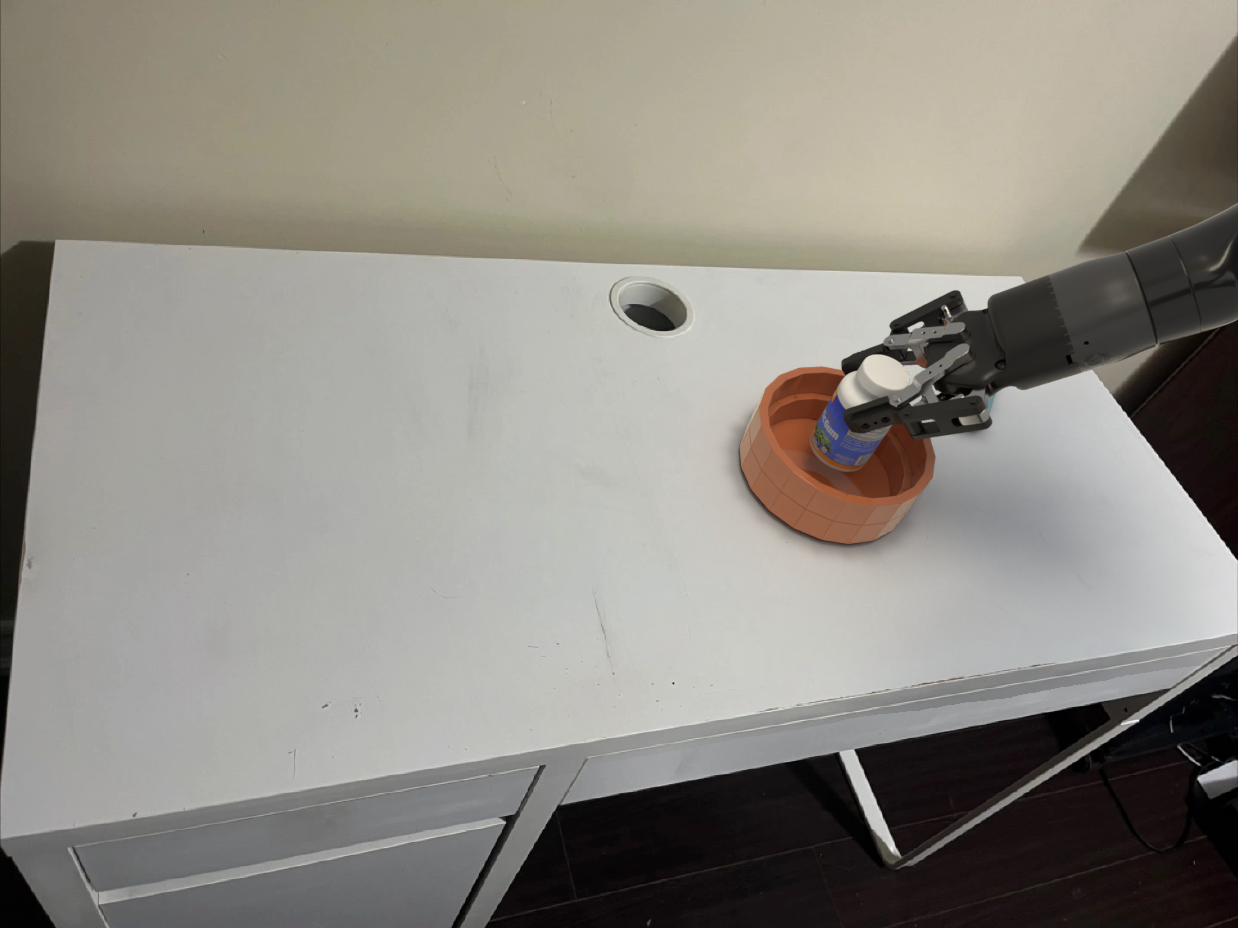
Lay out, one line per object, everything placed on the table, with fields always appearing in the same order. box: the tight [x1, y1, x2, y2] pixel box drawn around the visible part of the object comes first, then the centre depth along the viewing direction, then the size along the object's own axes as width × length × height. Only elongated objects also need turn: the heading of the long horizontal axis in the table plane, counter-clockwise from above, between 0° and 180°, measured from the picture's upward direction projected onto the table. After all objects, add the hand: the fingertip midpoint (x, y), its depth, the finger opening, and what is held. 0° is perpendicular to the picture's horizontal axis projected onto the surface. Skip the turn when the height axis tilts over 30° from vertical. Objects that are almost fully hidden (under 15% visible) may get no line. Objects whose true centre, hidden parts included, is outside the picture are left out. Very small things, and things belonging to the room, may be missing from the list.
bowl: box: [739, 365, 936, 545], centre depth 75 cm, size 16×16×6 cm
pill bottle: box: [810, 355, 911, 472], centre depth 71 cm, size 5×5×10 cm
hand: (846, 396), depth 70 cm, fingers closed on pill bottle, 5 cm apart
